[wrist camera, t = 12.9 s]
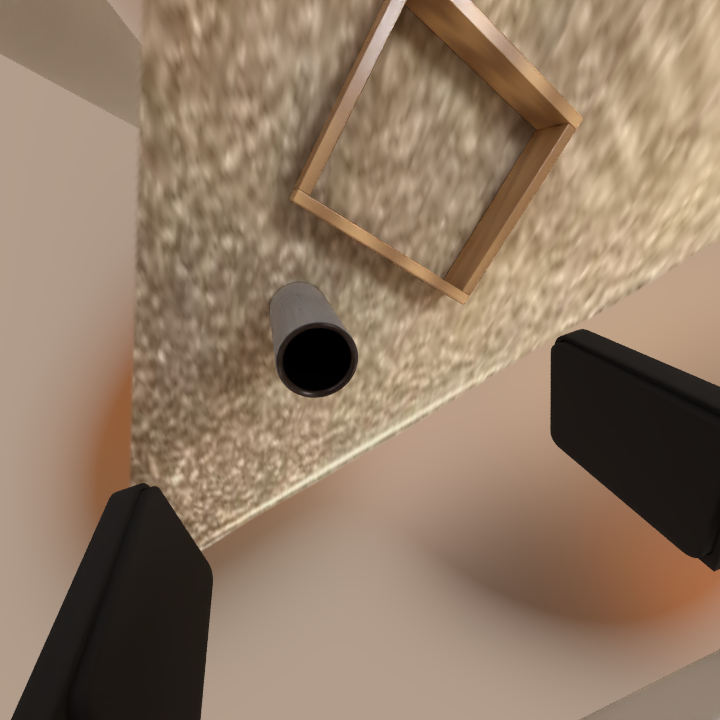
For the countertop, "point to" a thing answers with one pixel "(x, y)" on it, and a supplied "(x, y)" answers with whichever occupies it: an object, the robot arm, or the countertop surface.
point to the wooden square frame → (509, 79)
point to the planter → (310, 342)
